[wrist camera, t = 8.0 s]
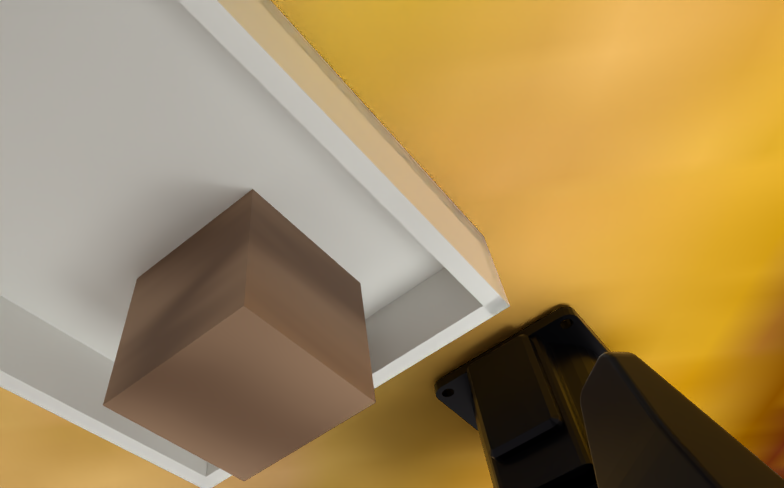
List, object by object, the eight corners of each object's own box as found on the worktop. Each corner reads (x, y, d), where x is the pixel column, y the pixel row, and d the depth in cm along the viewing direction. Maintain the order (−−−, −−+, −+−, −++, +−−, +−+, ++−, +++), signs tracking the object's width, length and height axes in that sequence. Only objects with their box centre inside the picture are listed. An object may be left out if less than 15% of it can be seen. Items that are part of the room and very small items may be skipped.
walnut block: (252, 188, 20) (244, 306, 16) (360, 283, 22) (375, 402, 18) (136, 278, 21) (103, 405, 17) (251, 356, 24) (244, 481, 20)
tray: (483, 236, 23) (510, 306, 20) (215, 412, 27) (206, 490, 24) (-1, -300, 13) (-75, -304, 11) (-313, 98, 17) (-428, 171, 14)
